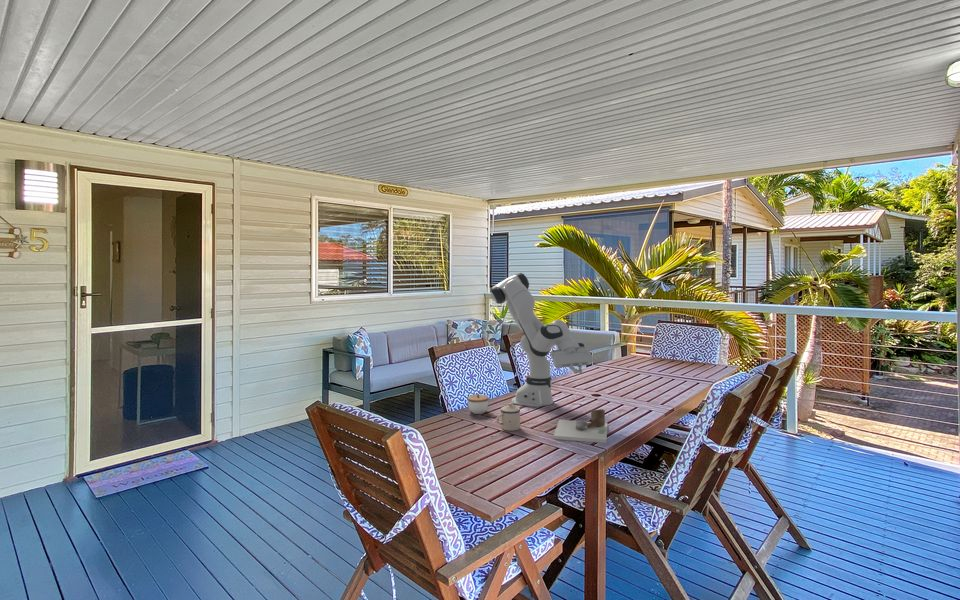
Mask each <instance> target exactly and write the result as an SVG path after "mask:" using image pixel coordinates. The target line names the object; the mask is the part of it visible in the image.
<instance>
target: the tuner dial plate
mask: <svg viewBox="0 0 960 600" xmlns="http://www.w3.org/2000/svg"><path fill="white" fill-rule="evenodd" d="M576 421H577V420H567V419H559V420H558V423H557V425H556V428H555V431H554V434H553V440H560V441H561V440H562V441H573V442H576V441H577V442H587V443H588V442H589V443H597V444H599V443H601V444H607V440H606V439H607V436H608V422H605V425H604V426H597V427H590V428H587V429H586V430H579V429H576ZM586 422H587V423H591V421H586Z"/></svg>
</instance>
